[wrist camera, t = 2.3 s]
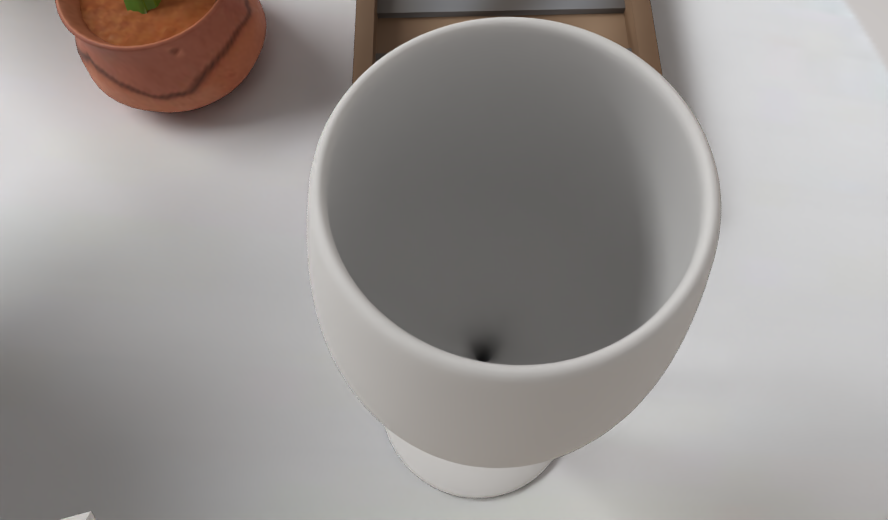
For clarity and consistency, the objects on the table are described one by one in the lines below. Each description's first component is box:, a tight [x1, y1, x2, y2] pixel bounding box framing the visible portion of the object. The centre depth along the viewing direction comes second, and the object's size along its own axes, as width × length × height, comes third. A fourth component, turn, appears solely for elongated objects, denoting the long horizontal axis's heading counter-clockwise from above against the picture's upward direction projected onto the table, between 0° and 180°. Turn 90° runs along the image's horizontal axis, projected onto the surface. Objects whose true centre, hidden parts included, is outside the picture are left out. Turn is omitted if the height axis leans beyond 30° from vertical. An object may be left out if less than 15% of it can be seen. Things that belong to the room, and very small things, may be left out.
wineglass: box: [307, 17, 721, 498], centre depth 20 cm, size 9×9×21 cm
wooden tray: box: [352, 0, 662, 85], centre depth 35 cm, size 16×18×2 cm
